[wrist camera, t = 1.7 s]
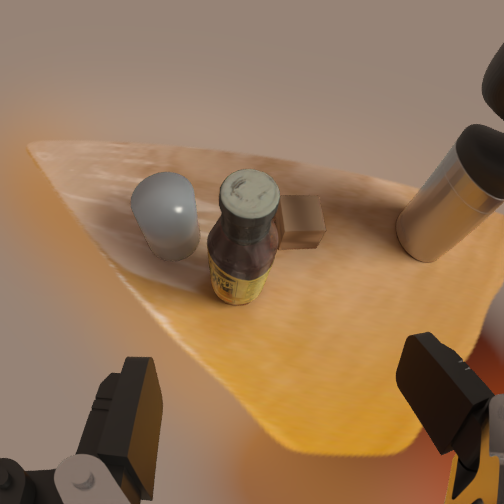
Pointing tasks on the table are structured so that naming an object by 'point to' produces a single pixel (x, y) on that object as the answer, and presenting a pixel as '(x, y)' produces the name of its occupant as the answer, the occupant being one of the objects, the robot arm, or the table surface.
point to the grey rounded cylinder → (167, 215)
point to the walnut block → (299, 222)
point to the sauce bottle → (243, 236)
